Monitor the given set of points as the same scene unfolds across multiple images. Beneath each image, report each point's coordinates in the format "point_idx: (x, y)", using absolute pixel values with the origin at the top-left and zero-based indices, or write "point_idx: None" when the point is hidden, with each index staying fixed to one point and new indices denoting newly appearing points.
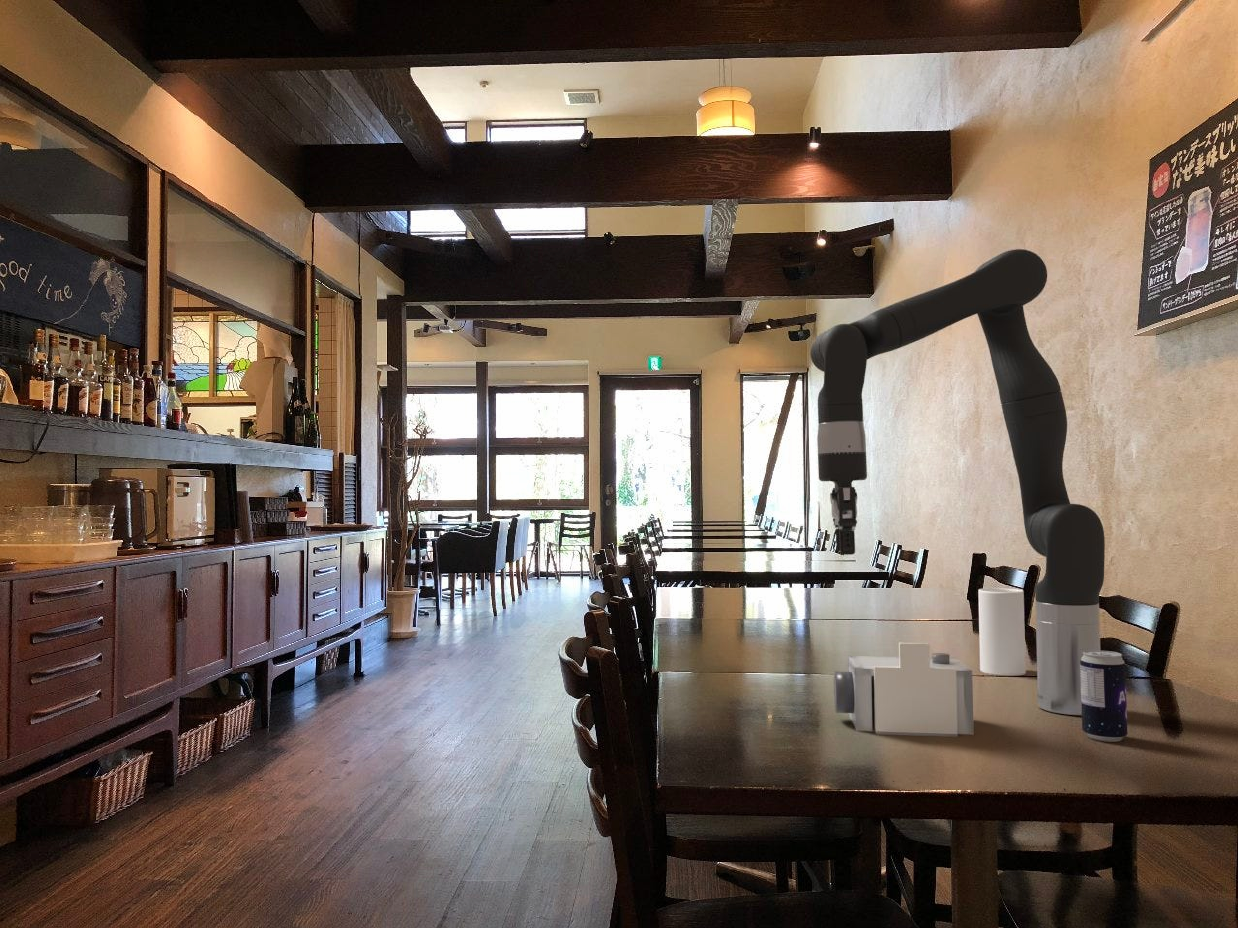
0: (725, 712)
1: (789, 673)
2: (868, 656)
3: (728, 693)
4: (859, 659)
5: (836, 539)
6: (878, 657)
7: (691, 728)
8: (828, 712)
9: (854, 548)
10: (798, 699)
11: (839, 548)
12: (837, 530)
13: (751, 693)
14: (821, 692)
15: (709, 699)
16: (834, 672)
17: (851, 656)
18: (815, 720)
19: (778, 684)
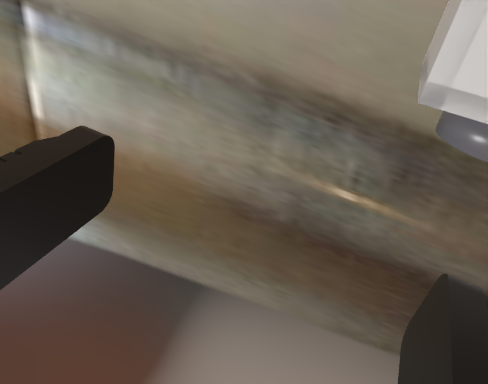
0: (306, 247)
1: (26, 37)
2: (443, 43)
3: (181, 197)
4: (486, 93)
5: (58, 242)
6: (472, 16)
7: (394, 324)
8: (338, 79)
9: (482, 311)
10: (228, 98)
11: (102, 198)
12: (4, 276)
13: (181, 162)
14: (174, 29)
15: (220, 237)
16: (468, 153)
17: (427, 95)
18: (395, 129)
19: (114, 91)
